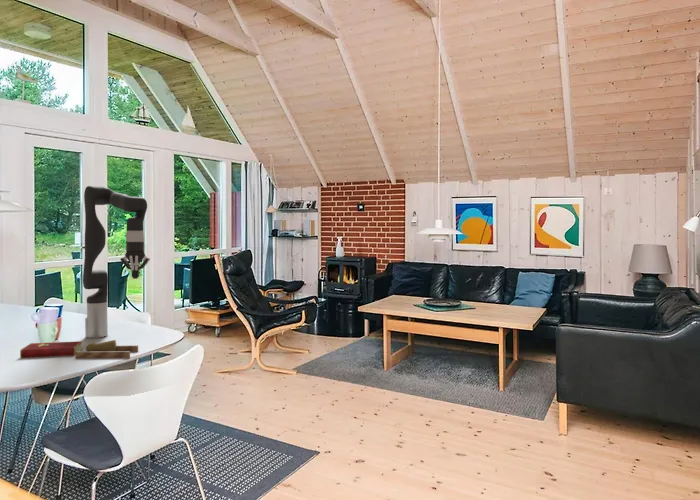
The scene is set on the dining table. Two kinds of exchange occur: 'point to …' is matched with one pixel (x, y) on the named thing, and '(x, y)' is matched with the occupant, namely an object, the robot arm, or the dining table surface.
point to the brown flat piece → (109, 352)
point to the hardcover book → (51, 349)
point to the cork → (102, 346)
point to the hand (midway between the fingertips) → (135, 278)
